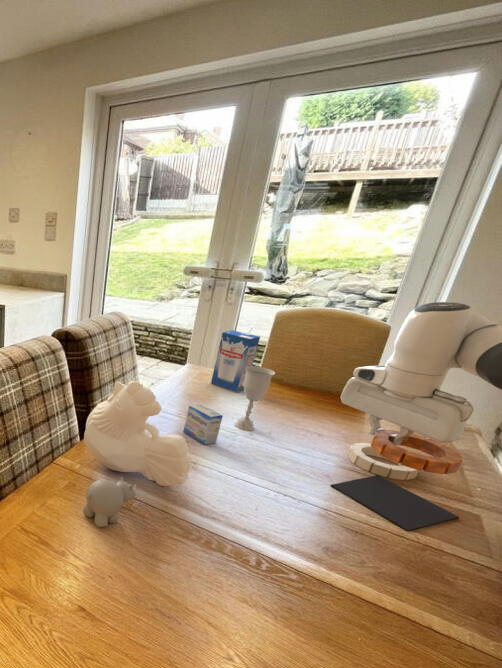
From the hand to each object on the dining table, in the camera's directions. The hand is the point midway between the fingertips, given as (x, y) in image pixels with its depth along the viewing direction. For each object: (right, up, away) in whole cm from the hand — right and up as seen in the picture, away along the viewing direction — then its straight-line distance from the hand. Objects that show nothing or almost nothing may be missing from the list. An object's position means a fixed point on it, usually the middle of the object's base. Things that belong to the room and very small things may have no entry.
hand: (384, 439), depth 87 cm
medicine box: (-28, -3, +25) cm, 38 cm away
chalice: (-11, -1, +31) cm, 33 cm away
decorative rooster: (-53, -10, +9) cm, 55 cm away
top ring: (+1, -3, -4) cm, 5 cm away
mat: (+1, -14, 0) cm, 14 cm away
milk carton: (+1, +11, +60) cm, 61 cm away
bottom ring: (+12, -8, +13) cm, 20 cm away
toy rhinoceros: (-62, -15, -4) cm, 64 cm away
